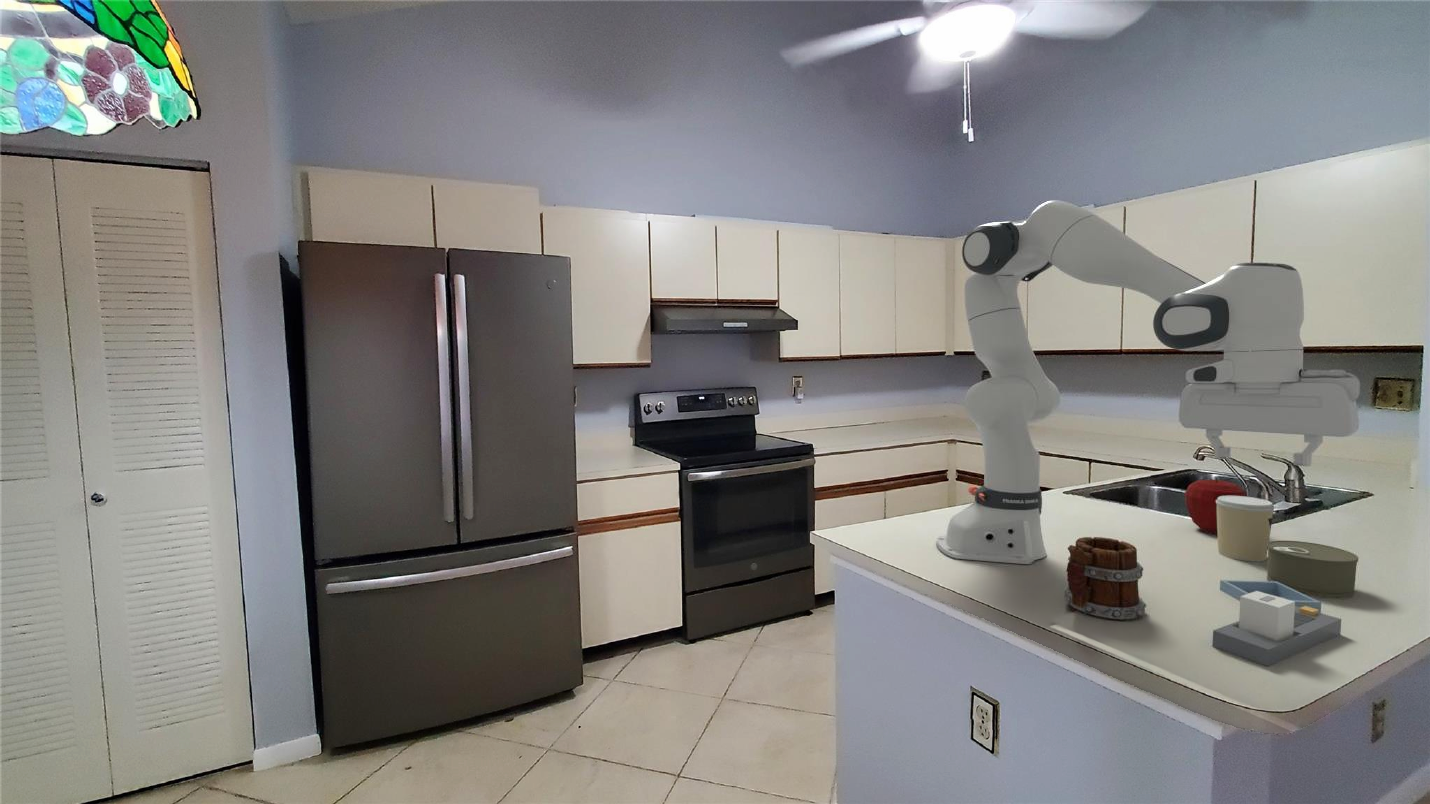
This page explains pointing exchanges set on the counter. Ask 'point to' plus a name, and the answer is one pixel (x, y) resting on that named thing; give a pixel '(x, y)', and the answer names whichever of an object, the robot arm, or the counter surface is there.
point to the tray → (1268, 591)
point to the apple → (1208, 501)
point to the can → (1312, 568)
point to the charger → (1267, 615)
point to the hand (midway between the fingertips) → (1260, 461)
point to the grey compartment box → (1267, 651)
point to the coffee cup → (1243, 527)
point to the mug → (1104, 579)
